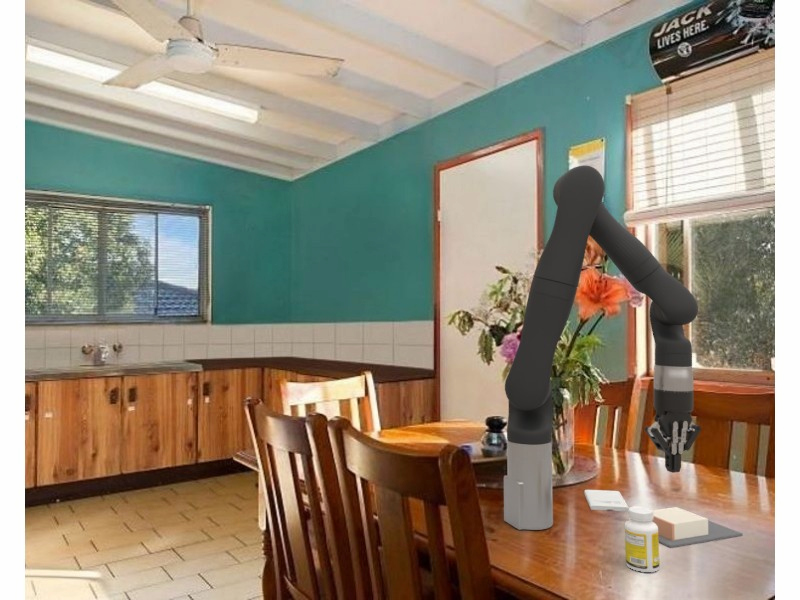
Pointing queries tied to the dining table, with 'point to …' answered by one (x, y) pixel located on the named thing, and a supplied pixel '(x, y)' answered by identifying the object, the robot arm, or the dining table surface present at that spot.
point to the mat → (713, 534)
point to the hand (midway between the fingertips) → (673, 471)
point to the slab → (679, 523)
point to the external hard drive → (606, 500)
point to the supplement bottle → (641, 540)
